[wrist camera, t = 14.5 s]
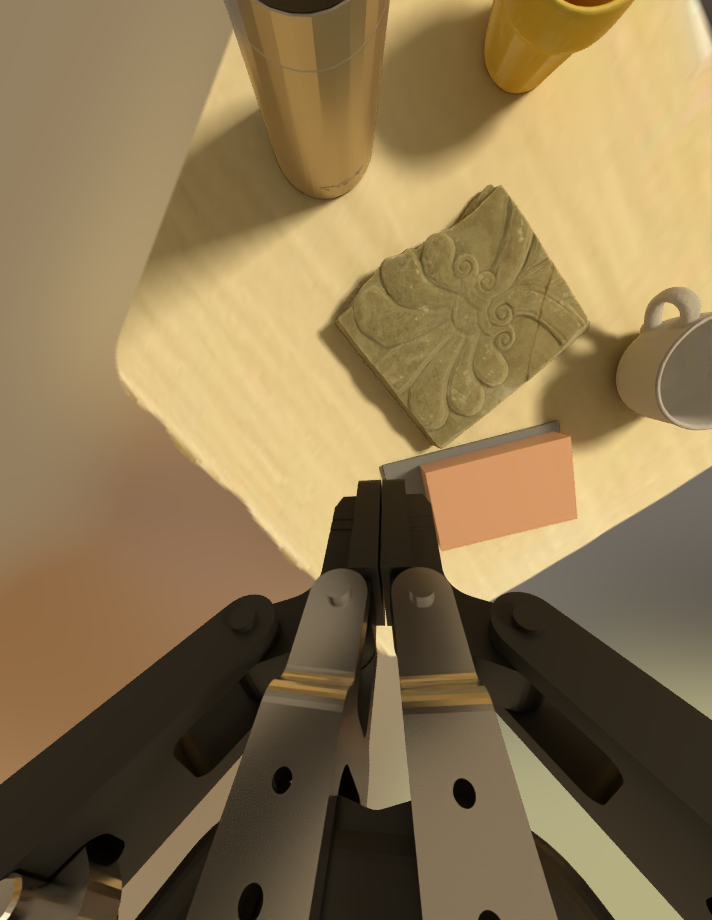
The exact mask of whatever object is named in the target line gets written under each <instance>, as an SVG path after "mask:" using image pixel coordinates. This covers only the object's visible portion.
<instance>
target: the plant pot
mask: <svg viewBox="0 0 712 920" xmlns="http://www.w3.org/2000/svg"><path fill="white" fill-rule="evenodd" d="M633 2H634V0H494V1H493V6H492V10H491V14H490V18H489V23H488V27H487V31H486V36H485V43H484V57H485V63H486V67H487V70H488V72H489V75H490V76H491V78H492V80H493V81H494V82H495V83H496V85H498V86H499V87H500V88H501V89H503V90H505V91H507V92H510V93H524V92H527V91H530V90H532V89H533V88H535V87H537V86H538V85H539V84H540V83H541V82H542V81H543V80H544V79H546V78H547V77H548V76H549V75H550V74H551V73H552V72H553V71H554V70H555V69H556V68H557V67H559V66H560V65H561V64H562V63H563V62H564V61H565V60H566V59H567V58H568V57H570V56H571V55H572V54H573V53H575V52H578V51H581V50H583V49H585V48H587V47H588V46H590V45H592V44H593V43H595V42H596V41H597V40H599V39H600V38H601V37H602V36H603V35H604V34H605V33H606V32H607V31H608V30H609V29H610V28H611V27H612V26H613V25H614V24H615V23H616V22H617V20H618V19H619V18H620V17H621V16H622V15H623V14H624V12H625V11H626V10H627V9H628V8H629V6H630V5H631V4H632V3H633Z"/></svg>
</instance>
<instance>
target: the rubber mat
mask: <svg viewBox="0 0 712 920" xmlns="http://www.w3.org/2000/svg"><path fill="white" fill-rule="evenodd" d="M553 431H555V432H558V433H560V425H559V421H553V422H549V423H546V424H542V425H538V426H534V427H530V428H526V429H522V430H518V431H514V432H510V433H506V434H503V435H499V436H495V437H491V438H487V439H483V440H479V441H475V442H471V443H467V444H463V445H459V446H456V447H452V448H448V449H444V450H440V451H436V452H432V453H428V454H424V455H420V456H416V457H413V458H409V459H405V460H401V461H397V462H393V463H389V464H385V465H382V466H383V470H384V474H385V478H386V480H388V479H405V489H406V494H421V493H422V494H423V495H424V496H425V497H426V493H425V489H424V484H423V479H422V475H421V470H420V465H423V464H427V463H431V462H435V461H439V460H443V459H447V458H450V457H454V456H458V455H462V454H466V453H470V452H474V451H478V450H482V449H486V448H490V447H494V446H498V445H502V444H505V443H509V442H513V441H517V440H521V439H525V438H529V437H533V436H537V435H541V434H545V433H549V432H553Z"/></svg>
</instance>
